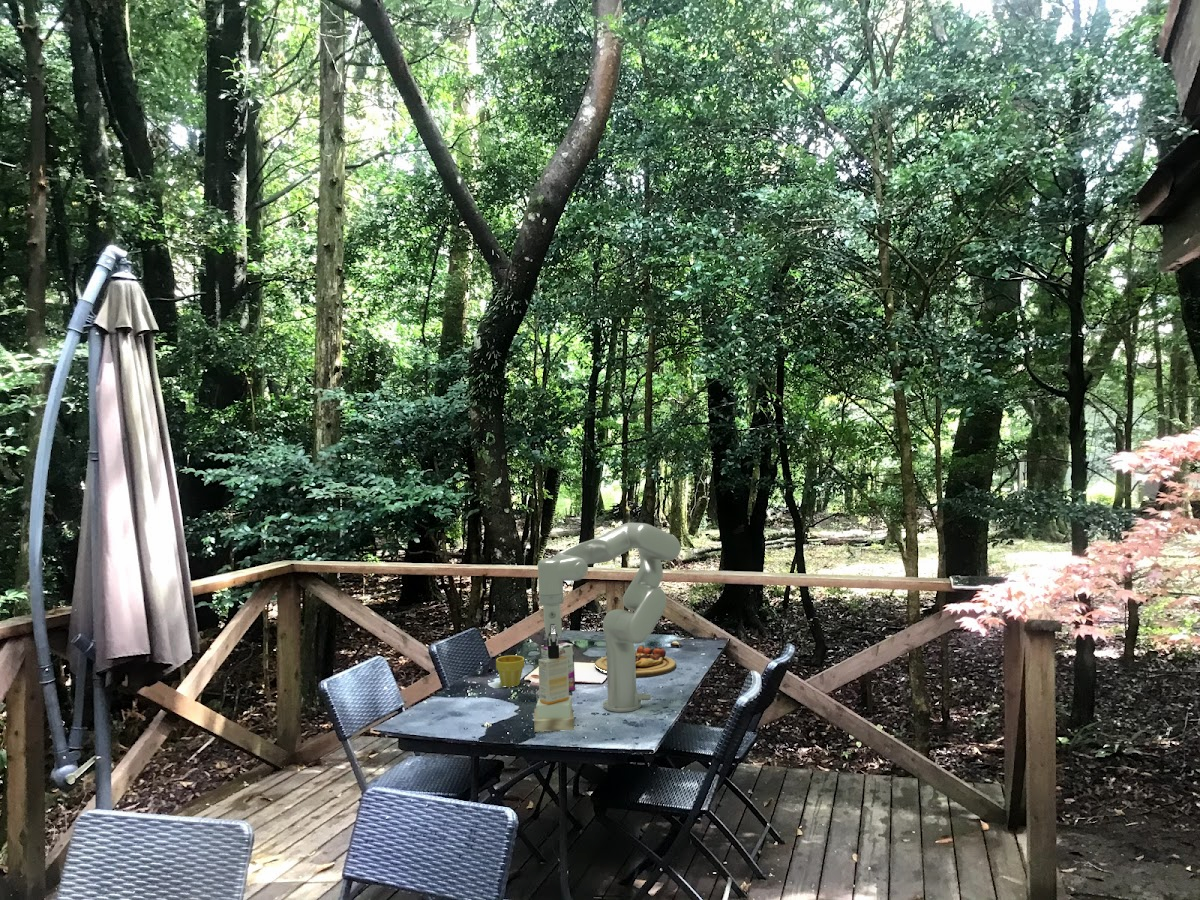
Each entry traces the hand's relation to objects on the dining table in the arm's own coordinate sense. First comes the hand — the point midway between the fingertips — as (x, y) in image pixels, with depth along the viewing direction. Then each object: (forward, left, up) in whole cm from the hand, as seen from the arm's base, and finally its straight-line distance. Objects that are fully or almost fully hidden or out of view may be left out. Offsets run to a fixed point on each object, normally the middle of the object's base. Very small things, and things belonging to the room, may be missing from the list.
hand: (553, 654), depth 240 cm
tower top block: (0, 0, -18) cm, 18 cm away
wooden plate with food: (-34, -62, -22) cm, 75 cm away
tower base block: (0, 0, -22) cm, 22 cm away
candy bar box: (-3, -34, -22) cm, 40 cm away
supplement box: (0, +1, -14) cm, 14 cm away
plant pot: (+14, -46, -22) cm, 53 cm away
